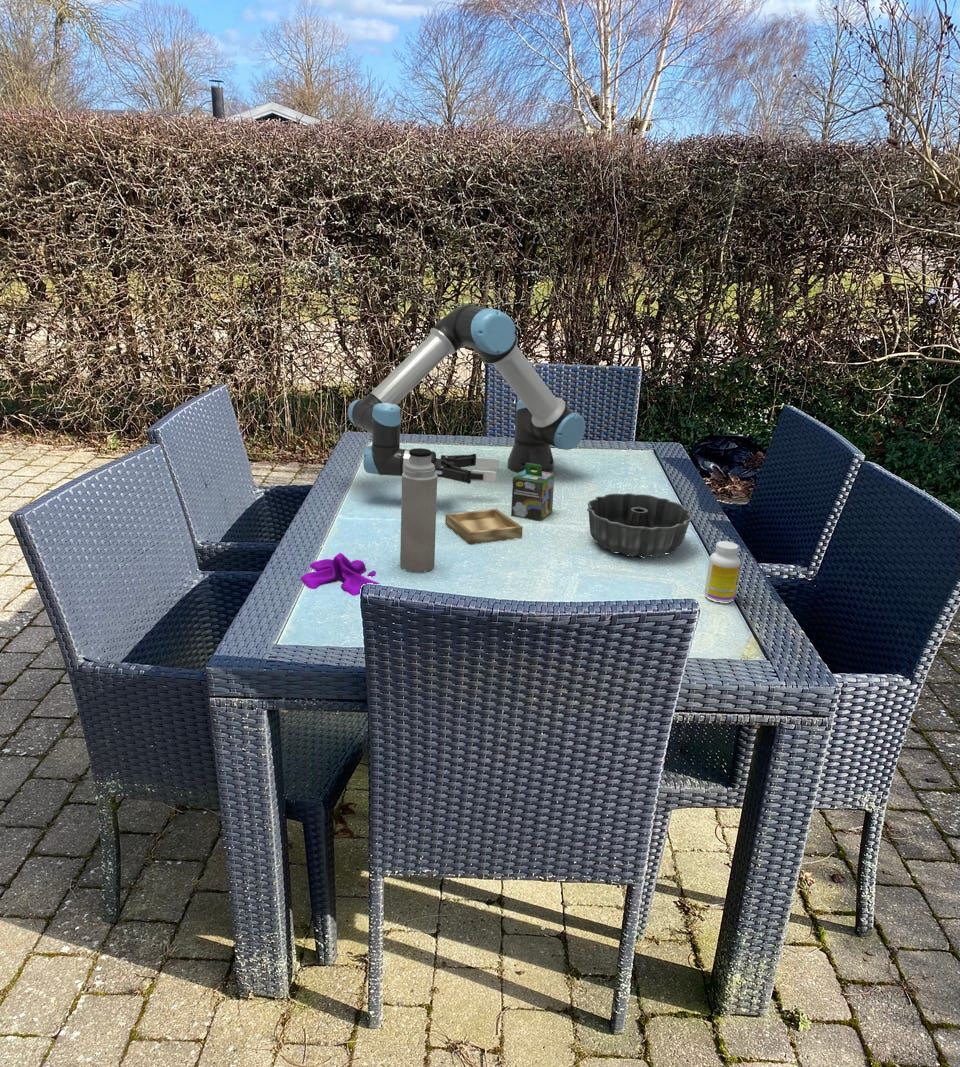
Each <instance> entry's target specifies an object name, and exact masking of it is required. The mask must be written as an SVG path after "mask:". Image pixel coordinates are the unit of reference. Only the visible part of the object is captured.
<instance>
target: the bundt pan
mask: <svg viewBox="0 0 960 1067" xmlns="http://www.w3.org/2000/svg"><path fill="white" fill-rule="evenodd" d="M587 506H588V507H587V508H586V510H587V512H588V521H589V533H590V536H591V537H592V539H593V540H594V541H595V542H596V541H597V543H598V544H599V545H600V546H601V547H603V548H604V549H606V548H609V549H608V550H610V552H612V553H613V552H620V553H622V554H623V555H624V554H625V555H624V556H627V555H629V556H628V557H635V556H639V555H640V556H642V557H645V558H646V557H648V556H649V555H652V556H658V557H662V556H663V554H665V553H671V554H672V553H674V552H675V551H676V550H677V549H678V548H679V547H680V546H681V545H682V544H683V542H684V541H685V537H686V535H687V531H688V527H689V524H690V523H691V522H692V521H693V515H692V511H691V510H689V509H687V508H686V506H684V505H683V504H682V503H678V502H675V501H671V500H670V499H668V498H665V497H664V498H663V497H658V496H655V495H650V494H643V493H642V494H641V493H640V494H638V493H631V492H627V493H626V492H625V493H608V494H605V495H601V496H599V495H598V496H596V497H595V498H594V499H591V500H589V501H588V502H587ZM634 555H635V556H634ZM640 556H639V557H640ZM652 556H651V557H652ZM642 557H641V558H642Z"/></svg>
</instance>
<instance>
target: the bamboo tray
mask: <svg viewBox="0 0 960 1067" xmlns="http://www.w3.org/2000/svg"><path fill="white" fill-rule="evenodd" d="M444 520H445V523H444V524H446V525H447V526H448V527H449V528H450V529H449V528H448V527H447V526H446V525H445V526H446V527H447V528H448V529H449V530H451V529H452V530H453V531H454V532H455V533H454V532H453V531H452V530H451V531H452V532H453V533H454V534H455V535H457V534H458V535H459V536H460V537H461V538H460V537H459V536H458V535H457V536H458V537H459V538H460V539H461V540H462V541H464V542H465V541H466V542H465V543H467V544H468V545H469V544H470V545H476V544H475V543H478V544H482V543H481V542H486V543H492V542H491V541H494V542H499V541H498V540H502V541H508V540H507V539H510V540H515V539H514V538H518V539H522V538H523V530H524V527H523V526H521V525H520V523H517V522H516V521H514V520H513V519H512V518H511V517H509V516H508V515H507V514H505V513H504V512H502V511H500V510H499V509H498V508H493V509H484V510H474V511H465V512H455V513H447V514H445V518H444ZM521 537H522V538H521Z"/></svg>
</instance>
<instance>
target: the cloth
mask: <svg viewBox="0 0 960 1067" xmlns="http://www.w3.org/2000/svg"><path fill="white" fill-rule="evenodd" d="M309 565H310V567H309V568H310V569H313V570H314V571H310V572H307V573H305V574H303V575H302V576H301V579H300V580H301V581H302V582H303V583H304V584H305V586H306V587H307V588H309V589H310V590H317V589H318V588H319V587H321V586H324V585H328V584H332V583H337V582H341V584H340V586H341V588H342V589H343V591H345V592H346V593H348V594H349V595H351V597H353V596H358V595H361V594H360V589H361V586H362V585H363V584H367V583H373V584H380V585H381V583H380V582H379V581H378V582H377V581H375V580H372V579H370V578H374V577H373V576H375V577H376V575H377V573H376V572H377V571H376V570H372V571H370V572H369V573H367V568H366V564H365V562H364V561H363V560H361V559H355V560H352V561H351V560H350V559H349V558H348V557H347V556H345V554H343V553H342V552H338V553H337V554H336V555H335V556H334V557H333V559H331V558H325V559H320V560H317V561H312V562H311V563H310V564H309ZM364 573H367V577H366V576H363V574H364ZM369 576H371V577H369ZM368 577H369V578H368Z"/></svg>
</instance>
